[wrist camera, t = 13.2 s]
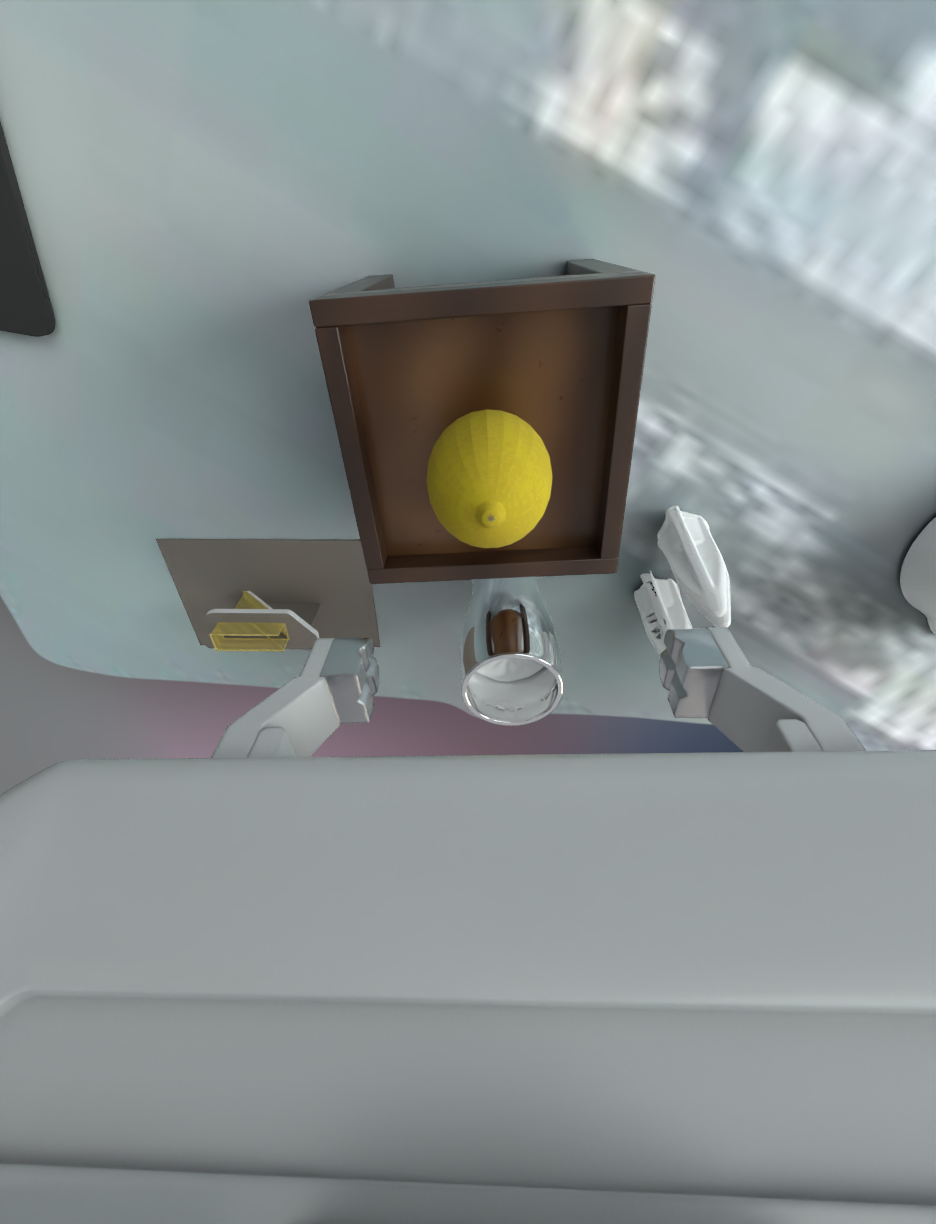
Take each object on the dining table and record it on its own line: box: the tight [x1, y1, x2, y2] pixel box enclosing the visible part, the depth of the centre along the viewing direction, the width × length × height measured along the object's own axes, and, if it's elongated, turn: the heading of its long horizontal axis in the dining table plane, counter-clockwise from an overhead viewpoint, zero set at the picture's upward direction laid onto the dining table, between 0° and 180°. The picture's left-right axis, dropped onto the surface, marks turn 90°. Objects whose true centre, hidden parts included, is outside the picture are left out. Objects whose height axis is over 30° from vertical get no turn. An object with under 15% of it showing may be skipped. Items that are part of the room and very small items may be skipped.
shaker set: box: [634, 506, 731, 656], centre depth 39 cm, size 12×4×11 cm, turn 178°
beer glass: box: [460, 577, 563, 726], centre depth 39 cm, size 7×7×15 cm
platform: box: [156, 539, 380, 651], centre depth 44 cm, size 12×18×7 cm, turn 90°
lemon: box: [427, 409, 552, 548], centre depth 23 cm, size 6×6×8 cm
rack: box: [309, 259, 655, 584], centre depth 30 cm, size 14×14×14 cm
